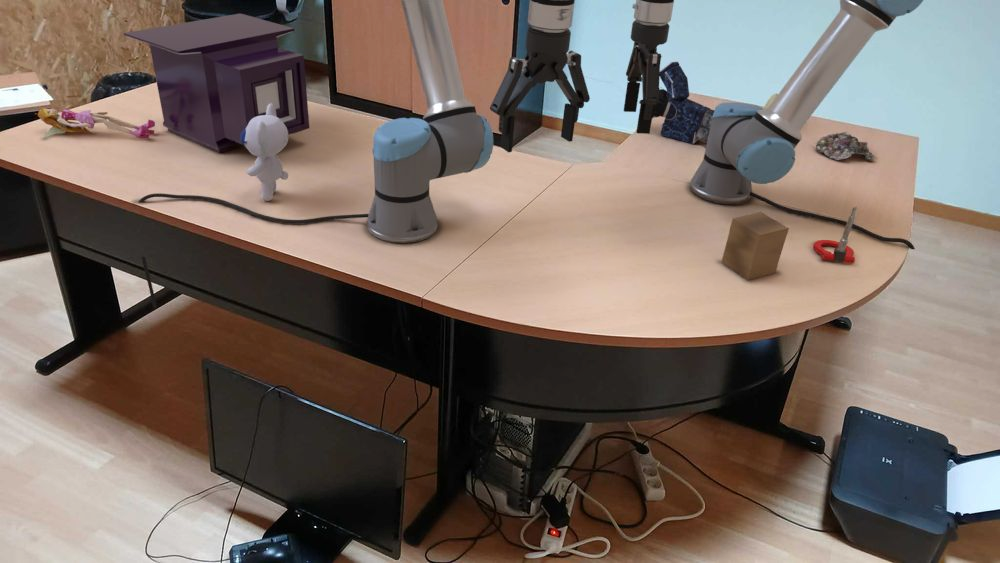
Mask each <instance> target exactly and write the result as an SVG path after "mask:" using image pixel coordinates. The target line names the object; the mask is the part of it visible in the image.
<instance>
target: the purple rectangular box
mask: <svg viewBox="0 0 1000 563" xmlns="http://www.w3.org/2000/svg"><path fill="white" fill-rule="evenodd" d="M294 31H295V28H294V27H292V26H287V25H283V24H279V23H276V22H272V21H269V20H264V19H262V18H259V17H256V16H255V17H254V16H252V15H247V14H244V13H235V14H230V15H224V16H217V17H212V18H205V19H200V20H194V21H188V22H181V23H175V24H169V25H163V26H157V27H151V28H146V29H145V28H144V29H139V30H134V31H128V32H123V36H125V37H127V38H130V39H133V40H136V41H138V42H142V43H145V44H148V45H149V50H150V54H151V60H152V66H153V71H154V75H155V76H154V77H155V82H156V87H157V92H158V97H159V102H160V107H161V113H162V118H163V122H162V126H163V127H165V128H166V129H167V131H168V132H170V133H172V134H175V135H177V136H179V137H182V138H184V139H187V140H189V141H191V142H193V143H196V144H197V145H200V146H203V147H205V148H207V149H209V150H212V151H215V152H217V153H219V154H220V153H224V152H227V151H229V150H233V149H235V148H237V144H240V145H242V146H244V145H243V143H241V139H240V136H241V132H242V131H243V130H244V129H246V127H247V125H248V123H249V122H250V120H251V119H252V118H254V117H257V116H261V115H266V110H267V106H268V104H270V103H271V104H273V105H274V107H275V110H276V116H277V117H278V118H279V119H280V120H281V121H282V122H283V123H284V124H285V126H286V128H287V131H288V136H289V135H293V134H296V133H300V132H302V131H305V130H308V129H310V118H309V105H308V94H307V93H308V92H307V80H306V79H307V78H306V68H305V56H304V54H303V53H302V54H301V53H297V52H296V51H295V52H294V51H291V50H288V49H285V48H282V47H279V44H278V40H277V38H280V37H282V36H286V35H287V34H291V33H292V32H294Z"/></svg>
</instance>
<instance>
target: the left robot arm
mask: <svg viewBox="0 0 1000 563" xmlns="http://www.w3.org/2000/svg"><path fill="white" fill-rule="evenodd" d="M575 1H576V0H529V3H528V4H529V5H528V6H529V7H528V14H527V23H528V24H529V26H528V27H527V28H526V38H525V49H526V54H525V57H524V58H517V57H515V56H511V57H510V58H509V61H508V66H507V67H508V68H507V71H506V73H505V75H504V77H503V79H502V81H501V83H500V86H499V87H498V90H497V91H496V93H495V96H494V98H493V100H492V102H491V104H490V106H489V110H490V111H491V112H493V113H494V114H496V115H498V116H499V117H498V118H499V119H498V132H500V133H501V136H500V138H501V139H500V148H501V149H503V150H504V151H505V152H507V153H512V152H513V145H514V144H513V142H514V133H515V132H514V131H515V120H516V117H515V116H514V115H513V113H514V112H515V111H516V110H517V108H518V107H519V105H520V104H522V103H521V102H522V101H523V100H524V98H526V96H527V94H528V93H529V92H530V91H531V89H533V88H535V87H536V85H538V84H544V83H546V82H549V83H553V82H556V84H557V85H558V87H559V88H560V91H561V92H562V93H563V95H564V96H565V98H566V100H567V102H568V103H567V102H566V103H564V109H563V116H562V124H561V131H560V132H561V133H560V137H561V138H562V139H564V140H565V141H567V142H569V143H571V142H573V139H574V132H575V125H576V124H575V123H577V122H578V120H579V115H580V114H579V113H580V109H583V108H584V107H585V103H589V102H590V101H591V100H590V99H591V98H590V94H589V89H588V86H587V83H586V80H585V76H584V73H583V68H582V55H581V54H580V53H578V52H576V51H574V50H570V44H571V35H572V31H571V30H570V28H572V26H573V20H574V9H575ZM400 2H401V5H402V10H403V14H404V18H405V23H406V25H407V30H408V35H409V38H410V42H411V46H412V51H413V54H414V58H415V63H416V67H417V71H418V75H419V78H420V79H419V80H420V83H421V87H422V91H423V95H424V99H425V103H426V107H427V110H426V112H425V114H424V115H423V117H422V119H421V118H418V117H409V118H406V117H399V118H395V119H392V120H391V119H390V120H389V121H386V122H384V123H383V124H381V125H379V127H377V129H376V130H375V132H374V135H373V143H372V144H373V146H372V155H373V176H374V177H373V178H374V180H373V181H374V195H373V196H374V197H373V200H372V202H371V206H370V209H369V212H368V213H356V214H355V213H354V214H339V215H328V216H321V217H314V218H306V219H286V218H280V217H279V218H278V217H273V216H269V215H265V214H262V213H258V212H255V211H252V210H250V209H248V208H246V207H243V206H240V205H237V204H235V203H232V202H230V201H227V200H223V199H221V198H216V197H211V196H205V195H192V194H172V193H161V192H160V193H159V192H158V193H157V192H156V193H150V194H146V195H144V196H143V197H141V198H140V199H139V200H138V201H137V203H139V204H142V203H143V202H145V201H147V200H148V199H153V198H170V199H178V200H179V199H180V200H181V199H182V200H184V199H185V200H189V199H190V200H203V201H209V202H213V203H219V204H223V205H224V206H225V205H226V206H228V207H231V208H233V209H235V210H239V211H241V212H244V213H246V214H248V215H251V216H253V217H255V218H260V219H263V220H266V221H271V222H275V223H281V224H310V223H317V222H324V221H330V220H331V221H332V220H344V219H345V220H346V219H347V220H348V219H360V218H361V219H363V218H367V221H366V222H367V230H368V232H369V234H370V235H372V236H373V237H375V238H376V239H378V240H381V241H385V242H388V243H395V244H411V243H416V242H421V241H424V240H427V239H428V238H431V237H432V236H433V235H434V234H435V233H436V232H437V230H438V217H437V213H436V211H435V208H434V205H433V202H432V198H431V195H430V181H432V180H436V179H442V178H446V177H450V176H455V175H459V174H464V173H465V174H466V173H470V172H473V171H476V170H479V169H481V168H483V167H485V166H486V165H487V164H488V162H489V161H490V159H491V156H492V154H493V151H494V150H493V149H494V133H493V128H492V126H491V123H490V122H489V121H488V119H487V118H486V117H485V116H483V115H481V114H478V113H477V110H476V106H475V104H474V103H472V102H470V101H469V100H467V97H466V94H465V89H464V85H463V81H462V77H461V72H460V68H459V64H458V60H457V55H456V51H455V48H454V44H453V39H452V35H451V31H450V27H449V23H448V17H447V14H446V10H445V6H444V2H443V0H400ZM566 65H567V67H568V72H569V75H570V78H571V82H572V84H571V83H570V81H569V80H568V78H569V77H568V76H567V75H566V73H565V71H564V69H565V67H566ZM524 68H525V69H524ZM572 85H573V86H572ZM141 262H142V266H143V271H144V274H145V278H146V281H147V286H148V290H149V294H150V298H151V303H152V308H153V309H157V308H158V306H157V302H156V298H155V292H154V289H153V283H152V279H151V276H150V271H149V268H148V267H149V266H148V263H147V260H146V256H141Z"/></svg>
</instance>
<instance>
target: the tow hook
mask: <svg viewBox="0 0 1000 563" xmlns="http://www.w3.org/2000/svg"><path fill="white" fill-rule="evenodd" d="M857 210H858V207H857V206H855V205H853V207H852V210H851V213H850V214H849V216H848V218H847V221H846V222H847V224H846V226H845V228H844V230H843V232H842V235H841V238H840V239H839V241H836V240H831V239H818V240H816V241H814V243H813V249H814V251H815V252H817V253H819V254H820V255H821V259H822V260H826V261H833V262H839V263H851V264H855V261H856V257H855V256H854V254H855V252H854V249H853V248H851V246H849V245H848V242H849V236H850V234H851V231H852V229H853V228H852V225H853V224H854V222H855V219H856V212H857ZM824 246H831V247H835V248H834V250H833V253H832V251H829V250H826V249H825V248H824Z"/></svg>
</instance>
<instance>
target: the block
mask: <svg viewBox="0 0 1000 563" xmlns="http://www.w3.org/2000/svg"><path fill="white" fill-rule="evenodd" d="M729 227H730V228H729V231H728V235H727V240H726V243H725V247H724V251H723V255H722V259H721V264H723V265H724V266H725V267H727V268H729V269H730V270H732V271H733V272H735V273H736V274H737V275H739V276H740V277H742V278H743V279H744V280H746V281H750V280H753V279H758V278H761V277H765V276H769V275H771V274H776V272H777V268H778V265H779V262H780V260H781V255H782V252H783V249H784V245H785V242H786V239H787V235H788V233H789V227H788V226H786V225H784V224H783V223H781V222H779V221H778V220H776V219H774V218H773V217H771V216H769V215H767V214H766V213H764V212H762V211H759V212H755V213H749V214H745V215H741V216H737V217H733V218H732V219H731V224H730V226H729Z"/></svg>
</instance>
